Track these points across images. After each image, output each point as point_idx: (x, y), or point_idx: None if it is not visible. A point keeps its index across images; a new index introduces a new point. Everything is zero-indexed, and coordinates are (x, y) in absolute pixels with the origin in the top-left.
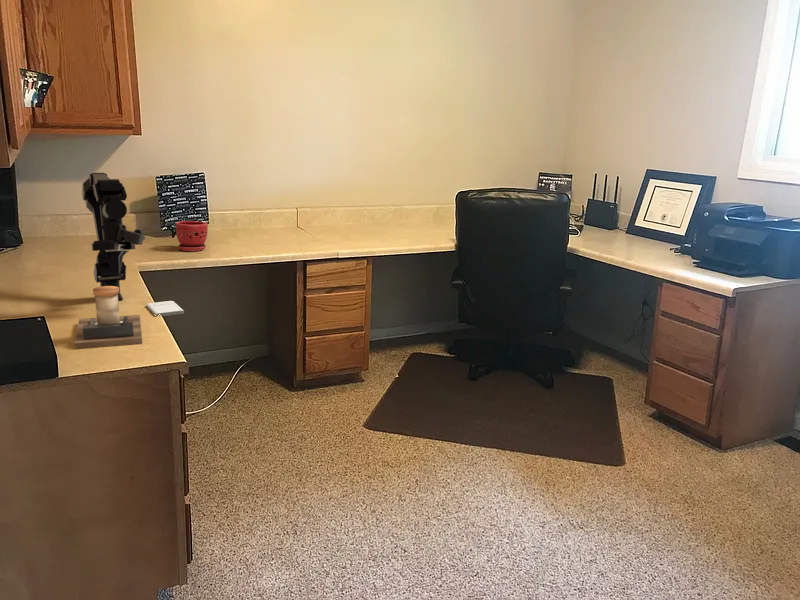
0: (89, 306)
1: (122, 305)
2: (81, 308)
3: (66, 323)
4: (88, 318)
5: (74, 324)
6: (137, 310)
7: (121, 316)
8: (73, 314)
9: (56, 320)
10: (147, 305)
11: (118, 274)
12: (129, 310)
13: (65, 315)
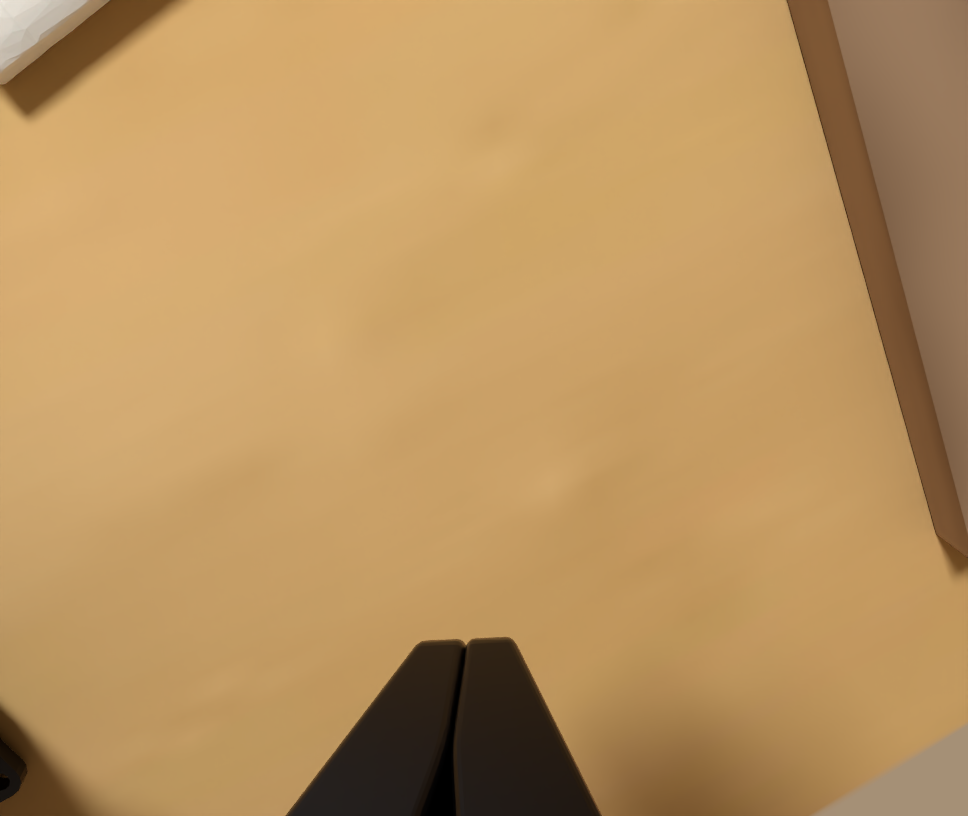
0: (256, 783)
1: (84, 460)
2: None
3: (911, 657)
4: (965, 478)
5: (946, 573)
6: (272, 133)
7: (880, 111)
8: (595, 762)
9: (813, 785)
10: (47, 39)
11: (506, 643)
12: (302, 251)
13: (640, 806)
